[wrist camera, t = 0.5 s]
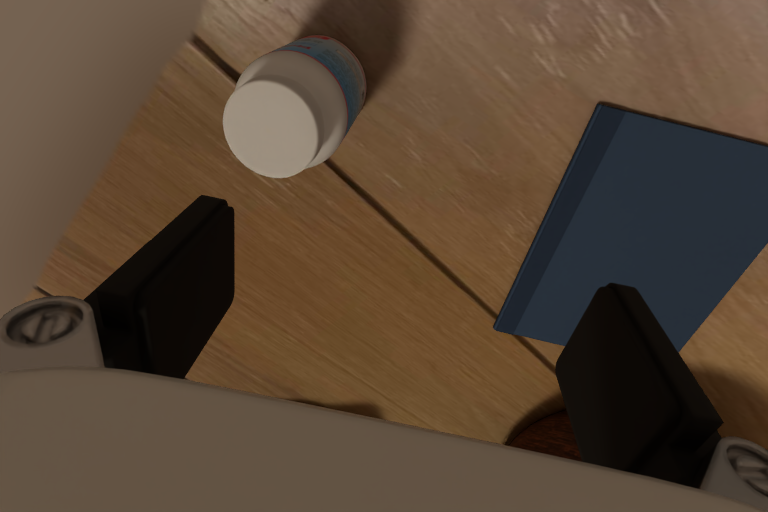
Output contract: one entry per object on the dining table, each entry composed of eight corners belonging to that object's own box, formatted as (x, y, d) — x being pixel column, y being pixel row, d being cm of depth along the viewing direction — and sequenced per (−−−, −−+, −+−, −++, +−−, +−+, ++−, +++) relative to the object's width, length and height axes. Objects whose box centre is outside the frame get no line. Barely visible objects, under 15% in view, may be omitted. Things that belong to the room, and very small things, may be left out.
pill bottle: (320, 11, 28) (259, 27, 18) (385, 87, 30) (361, 137, 20) (261, 80, 30) (181, 125, 21) (325, 145, 32) (279, 214, 23)
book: (597, 103, 29) (599, 105, 28) (828, 161, 29) (834, 163, 29) (492, 326, 39) (493, 330, 39) (662, 366, 40) (665, 370, 39)
